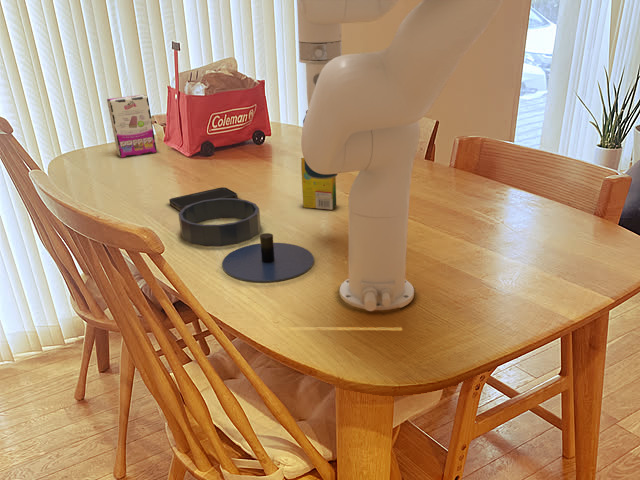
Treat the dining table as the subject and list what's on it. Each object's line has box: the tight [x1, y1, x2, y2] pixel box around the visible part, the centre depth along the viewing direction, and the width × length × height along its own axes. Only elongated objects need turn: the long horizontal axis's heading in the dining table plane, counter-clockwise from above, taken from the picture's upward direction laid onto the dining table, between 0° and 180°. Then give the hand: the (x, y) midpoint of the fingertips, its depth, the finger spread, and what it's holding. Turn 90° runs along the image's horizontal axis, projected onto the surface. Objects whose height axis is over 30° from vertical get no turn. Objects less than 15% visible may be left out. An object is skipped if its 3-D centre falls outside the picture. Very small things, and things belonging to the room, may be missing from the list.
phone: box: [168, 186, 239, 212], centre depth 151 cm, size 8×1×15 cm
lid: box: [221, 232, 315, 284], centre depth 117 cm, size 17×17×6 cm
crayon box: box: [300, 157, 337, 211], centre depth 143 cm, size 7×3×12 cm, turn 70°
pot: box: [177, 198, 262, 247], centre depth 132 cm, size 16×16×5 cm
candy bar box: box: [106, 94, 158, 159], centre depth 187 cm, size 11×5×16 cm, turn 119°
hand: (322, 152), depth 120 cm, fingers closed on soda can, 7 cm apart
